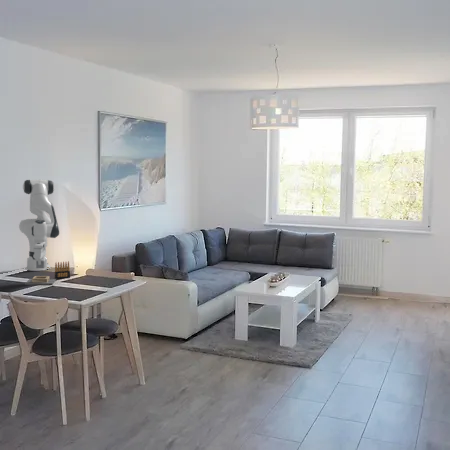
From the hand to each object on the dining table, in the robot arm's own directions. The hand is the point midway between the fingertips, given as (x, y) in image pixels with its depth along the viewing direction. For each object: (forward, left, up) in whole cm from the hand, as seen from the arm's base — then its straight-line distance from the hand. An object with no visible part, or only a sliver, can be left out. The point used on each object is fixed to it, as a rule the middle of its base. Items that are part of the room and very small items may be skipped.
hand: (40, 263), depth 404 cm
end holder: (0, 0, -13) cm, 13 cm away
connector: (0, 0, -3) cm, 3 cm away
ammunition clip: (-15, +12, -13) cm, 23 cm away
